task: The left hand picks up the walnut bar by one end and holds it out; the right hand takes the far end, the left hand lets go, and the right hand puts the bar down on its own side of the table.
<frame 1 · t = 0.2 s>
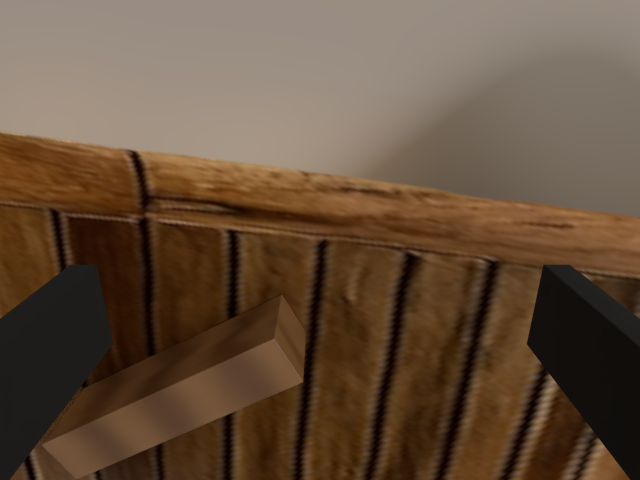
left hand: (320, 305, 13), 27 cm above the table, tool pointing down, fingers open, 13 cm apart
bar: (191, 361, 47), on the table
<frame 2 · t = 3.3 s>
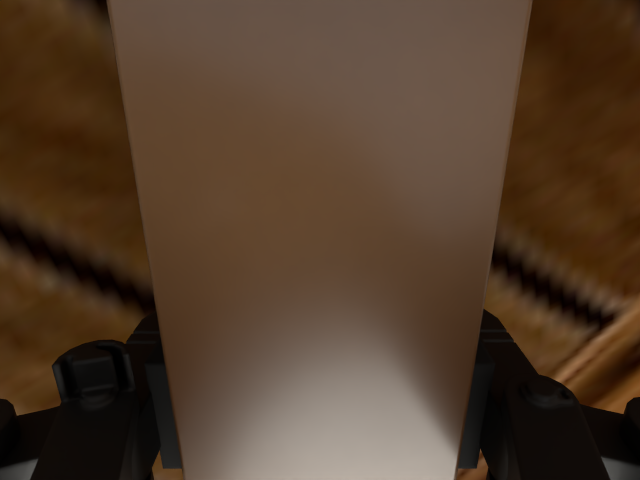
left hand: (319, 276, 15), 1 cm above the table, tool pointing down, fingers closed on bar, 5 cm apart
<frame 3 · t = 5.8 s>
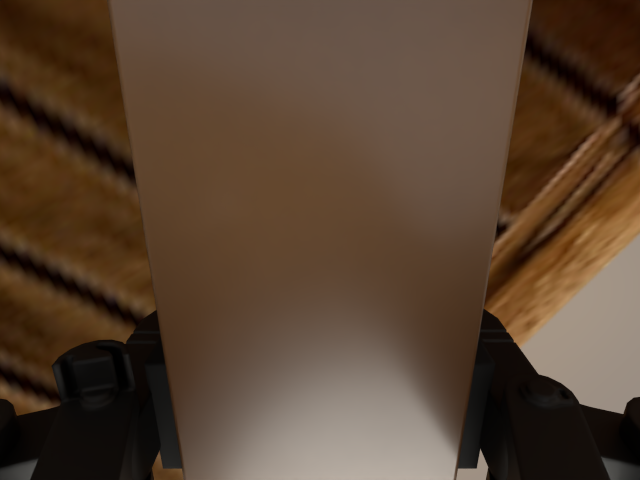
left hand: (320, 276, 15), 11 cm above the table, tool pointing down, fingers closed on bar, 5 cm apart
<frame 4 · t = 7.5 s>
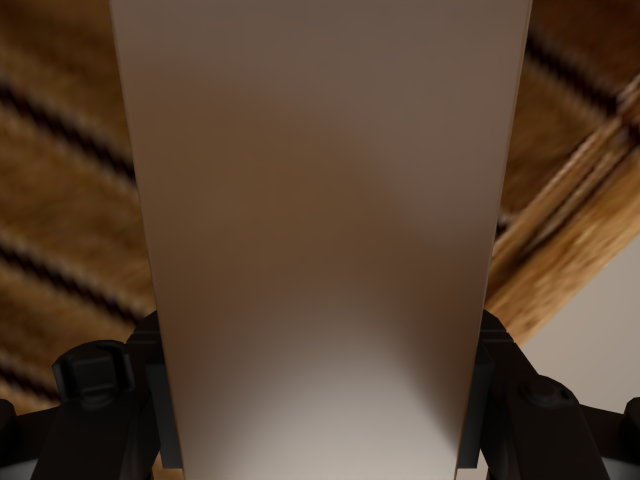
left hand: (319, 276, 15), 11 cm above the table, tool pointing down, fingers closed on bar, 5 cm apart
when the left hand's fingers open (11 cm above the table, at t = 8.3 s): bar stays where it is, held by the right hand.
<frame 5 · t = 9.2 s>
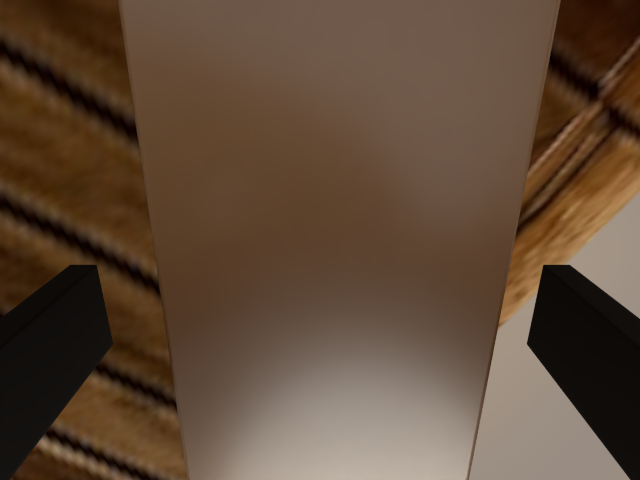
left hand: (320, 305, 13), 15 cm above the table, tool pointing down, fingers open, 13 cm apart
when the right hand's fingers open (2 cm above the table, at t = 15.3 s): bar drops 2 cm, on the table.
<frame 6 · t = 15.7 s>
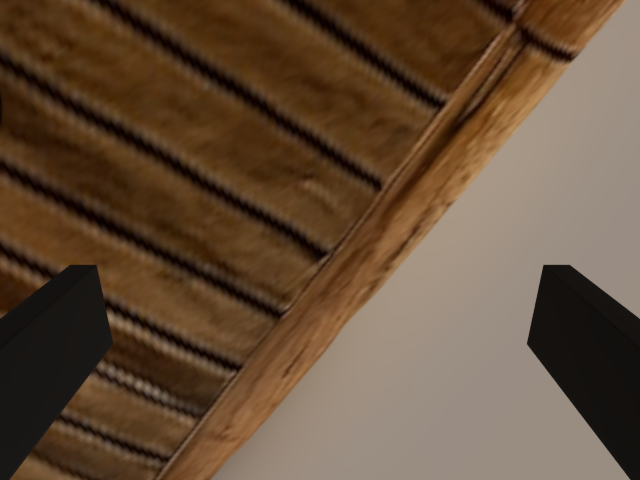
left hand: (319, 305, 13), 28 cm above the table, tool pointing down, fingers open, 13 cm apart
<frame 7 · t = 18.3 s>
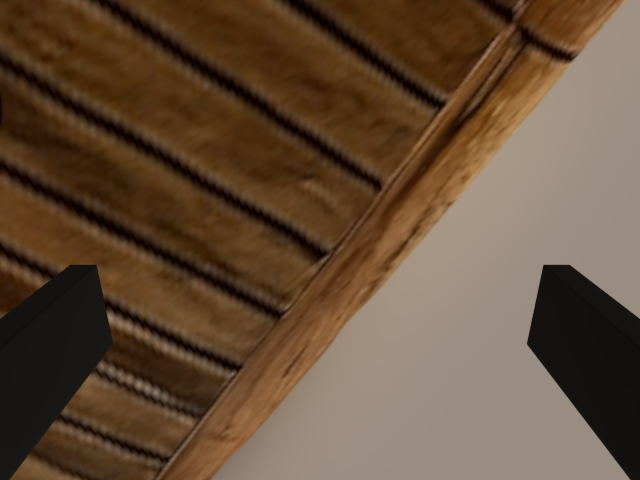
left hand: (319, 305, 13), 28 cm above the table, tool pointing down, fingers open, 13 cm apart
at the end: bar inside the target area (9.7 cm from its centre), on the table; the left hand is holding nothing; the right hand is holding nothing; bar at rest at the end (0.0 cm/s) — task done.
